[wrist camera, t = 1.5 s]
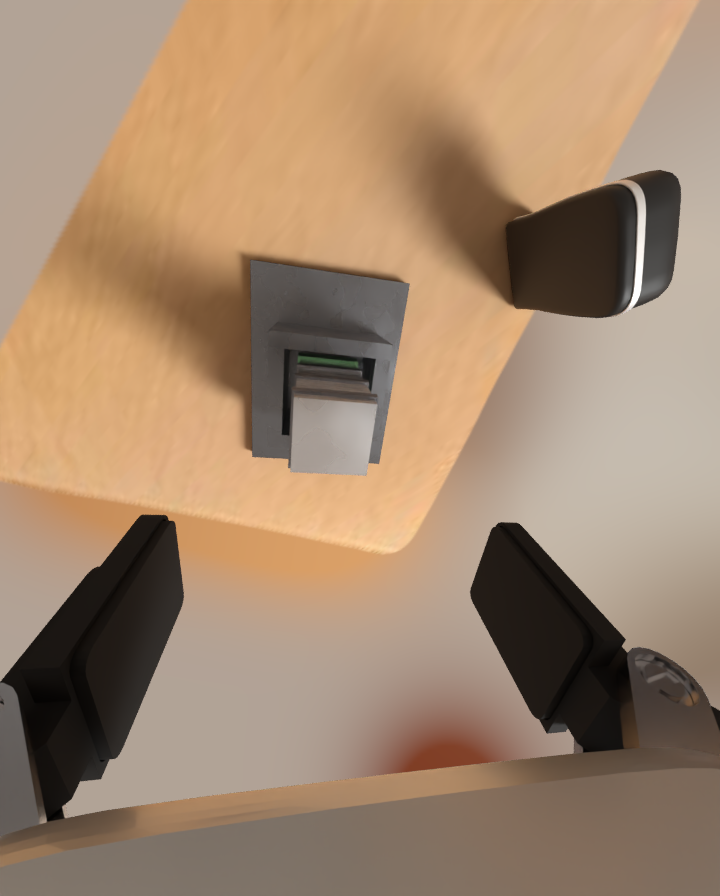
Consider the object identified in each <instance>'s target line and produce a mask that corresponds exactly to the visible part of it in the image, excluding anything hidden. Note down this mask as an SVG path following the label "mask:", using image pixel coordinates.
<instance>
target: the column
mask: <svg viewBox="0 0 720 896" xmlns="http://www.w3.org/2000/svg"><path fill="white" fill-rule="evenodd" d="M357 368H358V361H357V359H356V358H351V356H345V355H336V354H327V353H318V352H309V351H302V352H299V354H298V363H297V373H295V378H294V387H292V390H291V414H290V438H289V463H288V468H291V471H290V472H300V473H321V474H342V475H363V476H366V475H367V469H368V462H369V456H370V449H371V443H372V437H373V430H374V424H375V417H376V411H377V403H378V396H377V394H371V392H370V390H369V381H368V380H364V379H363V378H362V369H357Z"/></svg>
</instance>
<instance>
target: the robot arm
mask: <svg viewBox="0 0 720 896" xmlns="http://www.w3.org/2000/svg"><path fill="white" fill-rule="evenodd" d="M183 594H184V592H183V584H182V575H181V567H180V559H179V551H178V543H177V534H176V526H175V522H174V521H169V520H168V517H167V516H166V515H141V516H140V517H139V518H138V519H137V520H136V521H135V523H134V524H133V525H132V526H131V528H130V529H129V530H128V532H127V533H126V534H125V536H124V537H123V538H122V539H121V541H120V542H119V543H118V545H117V546H116V547H115V548H114V550H113V551H112V552H111V554H110V555H109V556H108V557H107V558H106V560H105V561H104V562H103V564H102V565H101V566H100V567H96V568H94V569H92V570H91V571H90V572H89V573H88V574H87V575H86V576H85V578H84V579H83V580H82V581H81V583H80V584H79V585H78V586H77V588H76V589H75V590H74V591H73V593H72V594H71V595H70V597H69V598H68V599H67V600H66V602H64V604H63V605H62V606H61V607H60V609H59V610H58V611H57V613H56V614H55V615H54V616H53V617H52V619H51V620H50V621H49V622H48V624H47V625H46V626H45V627H44V628H43V630H42V631H41V632H40V633H39V635H38V636H37V637H36V638H35V640H34V641H33V642H32V643H31V645H30V646H29V647H28V648H27V650H26V651H25V652H24V653H23V654H22V656H21V657H20V658H19V659H18V661H17V662H16V663H15V664H14V666H13V667H12V668H11V669H10V671H9V672H8V673H7V674H6V676H5V677H4V678H3V679H2V681H1V682H0V896H720V711H719V710H717V709H716V708H714V707H712V706H711V705H710V703H709V700H708V698H707V696H706V694H705V692H704V690H703V688H702V687H701V686H700V685H699V684H698V682H697V681H696V680H695V679H694V678H693V677H692V676H691V675H690V674H689V673H688V672H687V671H686V670H685V669H684V668H682V667H681V666H679V665H678V664H677V663H675V662H674V661H673V660H671V659H669V658H668V657H666V656H664V655H662V654H660V653H658V652H656V651H653V650H651V649H647V648H641V647H637V648H632V649H631V650H630V651H629V652H628V653H627V652H626V651H625V650H624V649H623V648H622V645H623V643H624V642H625V640H626V639H625V638H624V637H623V636H622V635H621V634H620V633H619V631H618V630H617V629H616V628H615V627H614V626H613V625H612V624H611V623H610V622H609V621H608V620H607V618H606V617H605V616H604V615H603V614H602V613H601V612H600V611H599V610H598V609H597V608H596V607H595V605H594V604H593V603H592V602H591V601H590V600H589V599H588V598H587V597H586V596H585V595H584V593H583V592H582V591H581V590H580V589H579V588H578V587H577V586H576V585H575V584H574V582H573V581H572V580H571V579H570V578H569V577H568V576H567V575H566V574H565V573H564V572H563V571H562V569H561V568H560V567H559V566H558V565H557V564H556V563H555V562H554V561H553V560H552V559H551V557H549V555H548V554H547V553H546V552H545V551H544V550H543V549H542V548H541V547H540V546H539V544H538V543H537V542H536V541H535V540H534V539H533V538H532V537H531V536H530V535H529V534H528V532H527V531H526V530H525V529H524V528H523V527H522V526H521V525H520V524H518V523H504V522H501V523H498V524H497V525H496V527H493V528H492V530H491V532H490V535H489V538H488V541H487V544H486V546H485V549H484V552H483V555H482V558H481V561H480V564H479V566H478V569H477V572H476V575H475V578H474V581H473V584H472V587H471V591H470V594H471V599H472V602H473V604H474V605H475V608H476V609H477V611H478V613H479V615H480V617H481V619H482V621H483V623H484V625H485V626H486V628H487V630H488V632H489V634H490V636H491V638H492V639H493V642H494V643H495V645H496V647H497V649H498V651H499V653H500V655H501V657H502V658H503V660H504V662H505V664H506V666H507V668H508V670H509V672H510V674H511V675H512V677H513V679H514V681H515V683H516V685H517V687H518V689H519V691H520V692H521V694H522V696H523V698H524V700H525V702H526V704H527V706H528V708H529V710H530V711H531V713H532V714H533V715H534V717H535V718H537V719H539V720H540V722H541V724H542V725H543V727H544V729H545V731H546V733H557V732H566V730H567V729H569V730H570V732H571V734H572V735H573V737H574V754H566V755H558V756H548V757H540V758H530V759H521V760H511V761H502V762H494V763H484V764H475V765H467V766H458V767H449V768H440V769H431V770H423V771H414V772H406V773H397V774H388V775H380V776H371V777H362V778H354V779H345V780H336V781H329V782H320V783H312V784H304V785H296V786H287V787H279V788H271V789H263V790H255V791H246V792H238V793H230V794H221V795H213V796H206V797H197V798H190V799H183V800H177V801H170V802H162V803H156V804H148V805H141V806H134V807H127V808H120V809H113V810H107V811H101V812H95V813H90V814H85V815H80V816H75V817H70V818H68V813H67V809H66V803H67V802H68V801H70V800H71V799H72V797H73V795H74V793H75V791H76V789H77V787H78V784H79V782H80V781H87V780H96V779H101V777H102V775H103V773H104V771H105V768H106V766H107V764H108V761H109V759H115V758H117V757H118V755H119V754H120V752H121V750H122V748H123V746H124V743H125V741H126V739H127V736H128V734H129V732H130V729H131V727H132V724H133V722H134V720H135V717H136V715H137V713H138V710H139V708H140V705H141V703H142V700H143V698H144V696H145V693H146V691H147V689H148V686H149V684H150V681H151V679H152V677H153V674H154V672H155V669H156V667H157V665H158V662H159V660H160V657H161V655H162V653H163V650H164V648H165V646H166V643H167V641H168V638H169V636H170V634H171V631H172V629H173V626H174V624H175V621H176V619H177V617H178V614H179V612H180V610H181V607H182V603H183V598H184V595H183Z"/></svg>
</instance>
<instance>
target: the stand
mask: <svg viewBox="0 0 720 896" xmlns="http://www.w3.org/2000/svg"><path fill="white" fill-rule="evenodd" d="M250 268H251V367H252V457H265V458H283V459H289V438H290V414H291V390H292V387H294V378H295V373H297V363H298V354H299V352H302V351H309V352H318V353H327V354H336V355H345V356H351V358H356V359H357V361H358V368H357V369H362V378H363V379H364V380H368V381H369V390H370V392H371V394H377V396H378V403H377V411H376V417H375V424H374V430H373V437H372V443H371V449H370V456H369V462H368V463H376V464H379V461H380V455H381V449H382V443H383V437H384V431H385V426H386V420H387V414H388V408H389V402H390V396H391V390H392V385H393V379H394V373H395V367H396V361H397V355H398V349H399V343H400V338H401V332H402V326H403V320H404V314H405V308H406V302H407V297H408V291H409V285H410V284H409V283H402V282H395V281H389V280H382V279H375V278H369V277H362V276H356V275H349V274H342V273H336V272H329V271H322V270H316V269H309V268H302V267H296V266H289V265H282V264H276V263H269V262H263V261H256V260H250Z"/></svg>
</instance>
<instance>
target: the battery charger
mask: <svg viewBox="0 0 720 896" xmlns="http://www.w3.org/2000/svg"><path fill="white" fill-rule="evenodd" d="M680 203H681V187H680V184H679V181H678V178H677V177H676V176H675V175H674V174H673V173H670V172H666V171H662V170H656V171H649V172H645V173H641V174H637V175H634V176H631V177H627V178H625V179H621V180H618V181H614V182H611V183H607V184H604V185H601V186H598V187H595V188H592V189H589V190H586V191H583V192H581V193H578V194H575V195H573V196H570V197H568V198H565V199H563V200H561V201H558V202H556V203H554V204H552V205H549V206H547V207H545V208H543V209H541V210H539V211H536V212H533V213H531V214H527V215H524V216H520V217H517V218H515V219H513V221H511V222H509V223H508V224H507V225H506V235H507V246H508V256H509V266H510V275H511V284H512V292H513V300H514V307H515V308H516V309H530V310H540V311H544V312H550V313H556V314H561V315H569V316H578V317H590V318H603V317H614V316H617V315H620V314H623V313H626V312H627V311H629V310H630V309H632V308H635V307H637V306H640V305H643V304H645V303H647V302H649V301H652V300H653V299H656V298H658V297H659V296H660V295H661V294H662V293H663V292H664V291H665V290H666V289H667V288H668V286H669V284H670V282H671V280H672V276H673V271H674V264H675V256H676V247H677V239H678V228H679V216H680Z"/></svg>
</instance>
